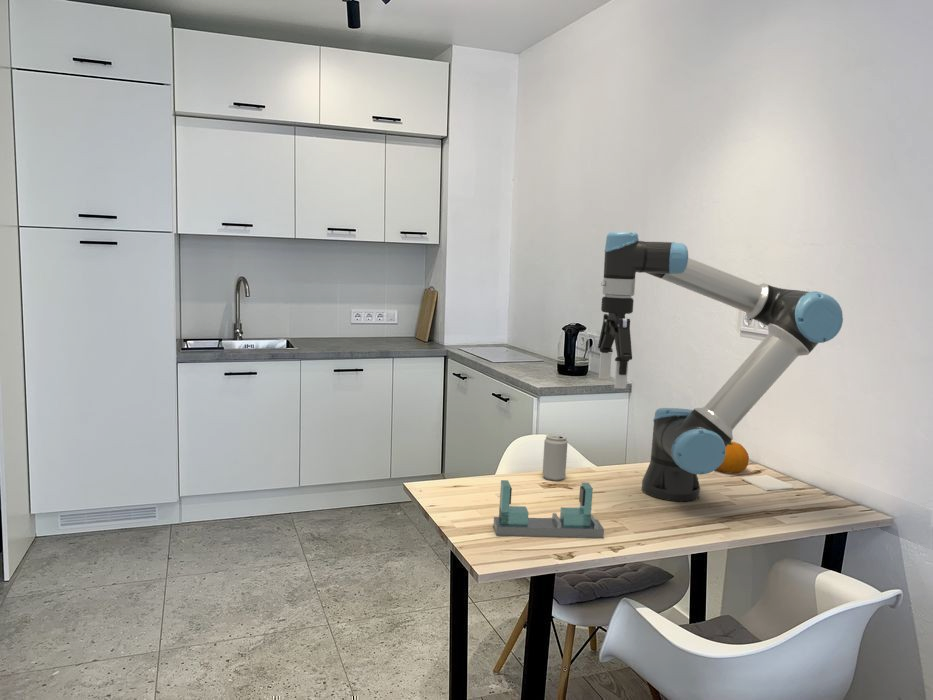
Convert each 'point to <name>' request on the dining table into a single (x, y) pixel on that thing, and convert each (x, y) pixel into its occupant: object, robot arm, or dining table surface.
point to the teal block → (579, 509)
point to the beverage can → (555, 457)
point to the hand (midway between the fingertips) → (611, 383)
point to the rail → (536, 521)
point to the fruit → (734, 459)
